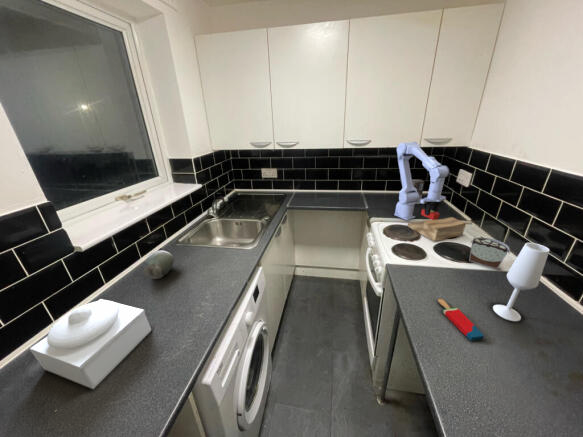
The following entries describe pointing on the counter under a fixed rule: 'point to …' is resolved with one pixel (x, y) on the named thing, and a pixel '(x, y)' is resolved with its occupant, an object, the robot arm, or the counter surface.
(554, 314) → the counter surface
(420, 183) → the coffee box
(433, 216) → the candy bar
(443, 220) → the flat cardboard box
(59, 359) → the butter dish
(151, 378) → the counter surface
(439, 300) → the popsicle
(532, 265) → the white wine glass
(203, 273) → the counter surface
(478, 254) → the food container
